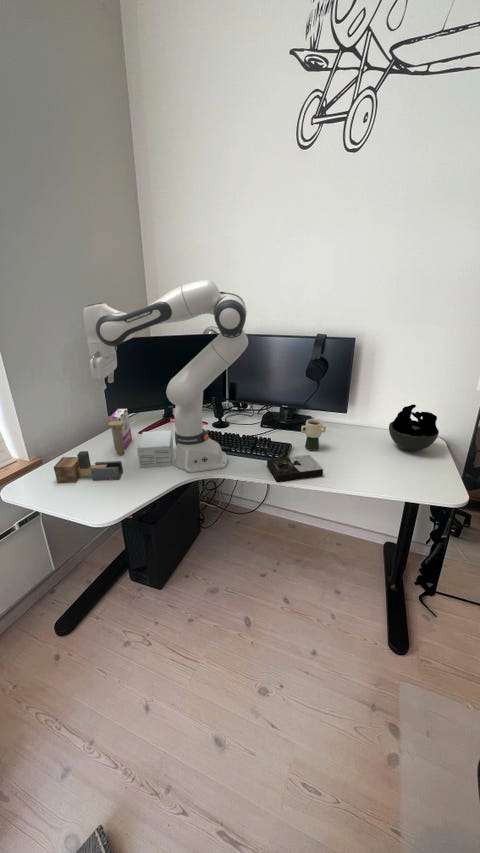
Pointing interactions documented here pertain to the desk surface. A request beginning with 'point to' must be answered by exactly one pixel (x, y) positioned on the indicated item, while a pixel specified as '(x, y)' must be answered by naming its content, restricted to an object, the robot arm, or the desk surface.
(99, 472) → the sleeve channel
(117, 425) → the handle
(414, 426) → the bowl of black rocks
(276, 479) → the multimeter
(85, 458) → the tan bar
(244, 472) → the desk surface
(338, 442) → the desk surface
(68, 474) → the socket block
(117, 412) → the candy bar box
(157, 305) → the robot arm
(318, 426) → the character mug
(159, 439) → the supplement box
